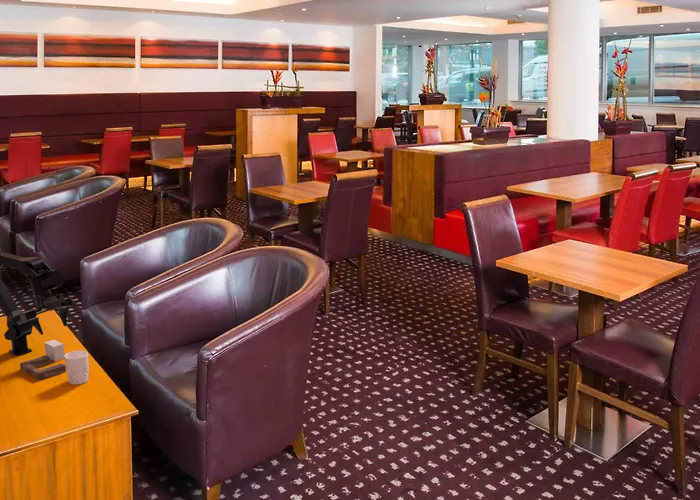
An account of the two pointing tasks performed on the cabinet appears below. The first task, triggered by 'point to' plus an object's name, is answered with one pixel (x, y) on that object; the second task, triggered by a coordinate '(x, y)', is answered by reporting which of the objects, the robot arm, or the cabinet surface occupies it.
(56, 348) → the block
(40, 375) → the notched board
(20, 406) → the cabinet surface
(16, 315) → the robot arm
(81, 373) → the white cup
